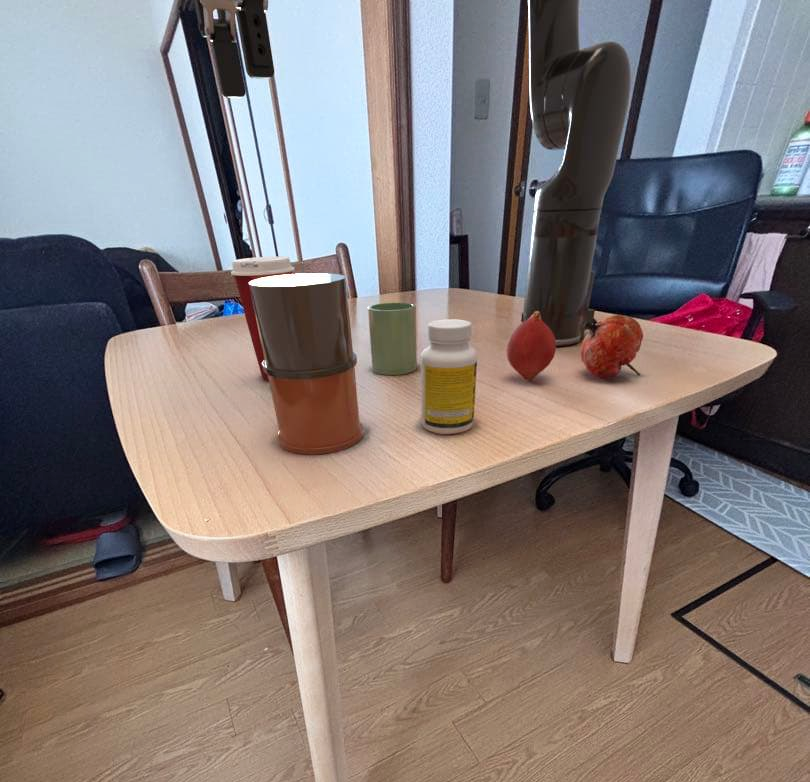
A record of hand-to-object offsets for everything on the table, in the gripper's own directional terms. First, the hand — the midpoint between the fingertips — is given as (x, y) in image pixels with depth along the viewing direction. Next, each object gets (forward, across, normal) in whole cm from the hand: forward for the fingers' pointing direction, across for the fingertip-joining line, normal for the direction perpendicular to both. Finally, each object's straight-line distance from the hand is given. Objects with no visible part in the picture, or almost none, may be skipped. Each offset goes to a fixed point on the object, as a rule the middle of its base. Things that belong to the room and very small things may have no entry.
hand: (247, 88), depth 42 cm
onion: (+28, -13, -26) cm, 40 cm away
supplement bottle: (+28, -19, -9) cm, 35 cm away
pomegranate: (+28, -18, -35) cm, 48 cm away
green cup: (+28, +2, -15) cm, 32 cm away
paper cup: (+28, +9, -1) cm, 29 cm away
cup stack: (+28, -14, +3) cm, 31 cm away
